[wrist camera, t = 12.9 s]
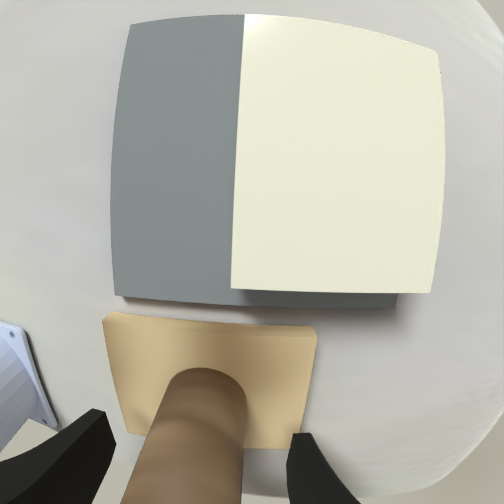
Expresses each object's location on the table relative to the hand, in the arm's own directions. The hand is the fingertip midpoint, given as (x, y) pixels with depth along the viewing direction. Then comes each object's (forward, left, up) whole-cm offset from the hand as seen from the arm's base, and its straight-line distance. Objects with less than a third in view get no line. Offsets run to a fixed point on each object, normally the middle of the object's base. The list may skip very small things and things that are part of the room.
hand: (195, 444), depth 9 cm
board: (0, 0, -4) cm, 4 cm away
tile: (+1, +10, -2) cm, 11 cm away
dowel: (0, 0, -3) cm, 3 cm away
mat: (+2, +10, -4) cm, 11 cm away
